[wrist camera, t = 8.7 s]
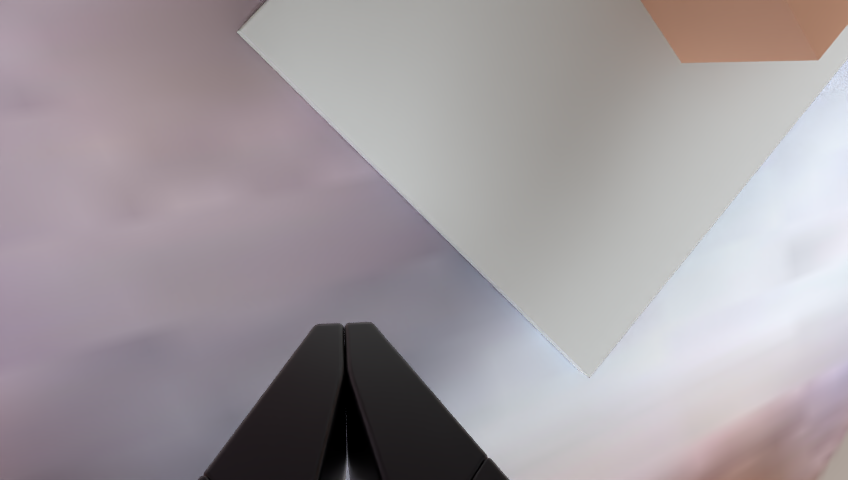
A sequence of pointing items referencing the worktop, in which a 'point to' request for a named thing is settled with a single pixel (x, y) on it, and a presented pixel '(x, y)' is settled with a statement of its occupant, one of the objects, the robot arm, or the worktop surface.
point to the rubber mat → (544, 137)
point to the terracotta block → (749, 28)
